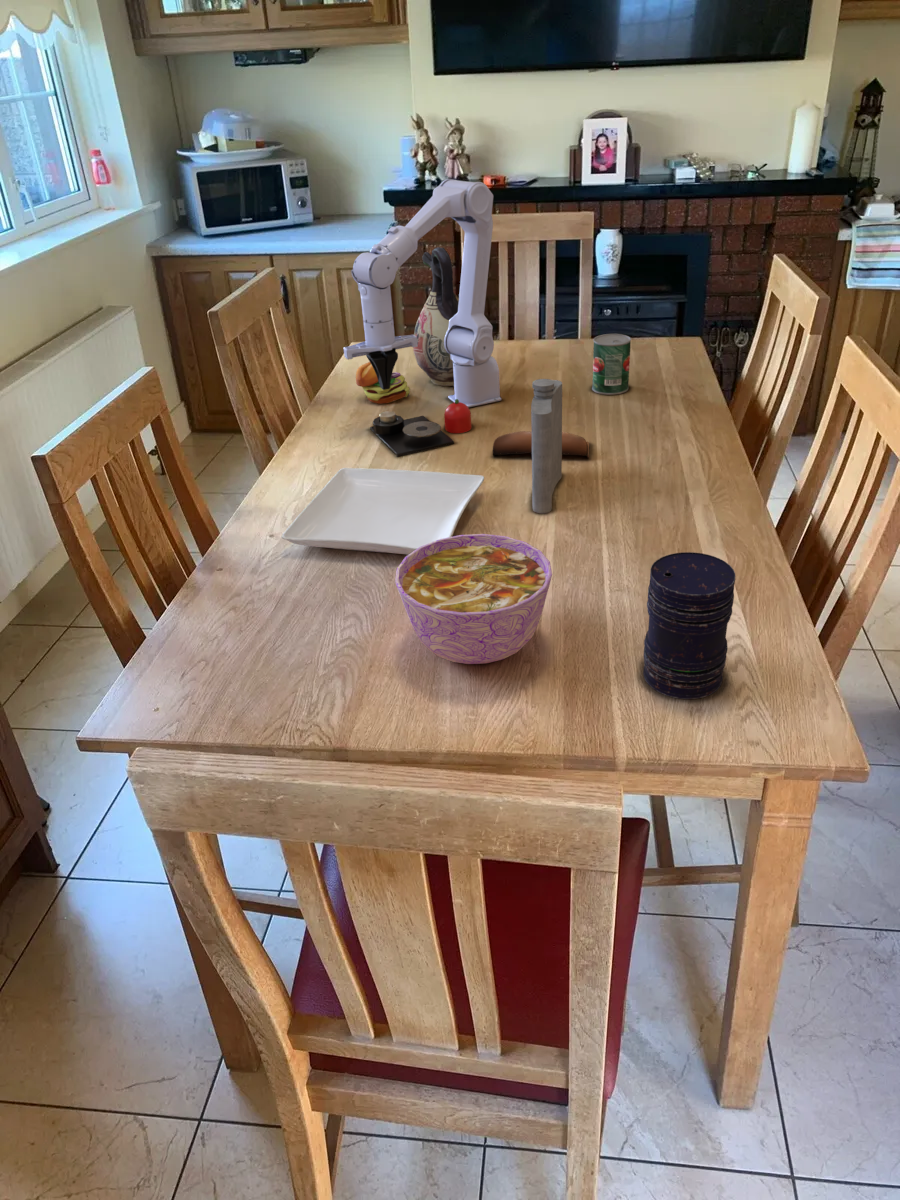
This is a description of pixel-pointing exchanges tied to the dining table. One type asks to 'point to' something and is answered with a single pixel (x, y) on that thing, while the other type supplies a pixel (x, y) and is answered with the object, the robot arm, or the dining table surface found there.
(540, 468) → the hip flask
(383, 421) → the hob button
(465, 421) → the pepper
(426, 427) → the burner
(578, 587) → the dining table surface
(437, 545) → the bowl of food
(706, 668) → the storage jar
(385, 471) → the square plate
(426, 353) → the ceramic jug
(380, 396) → the cheeseburger
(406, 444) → the hob
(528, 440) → the sunglasses case
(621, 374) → the canned tomato
